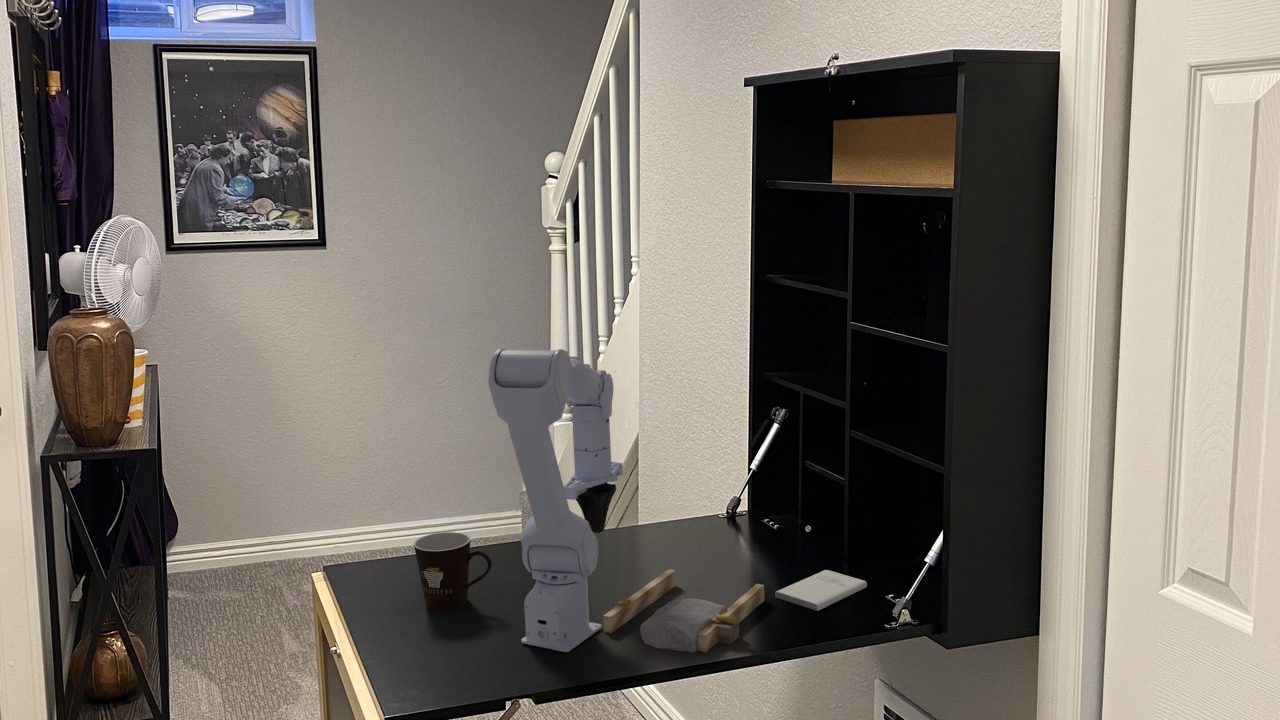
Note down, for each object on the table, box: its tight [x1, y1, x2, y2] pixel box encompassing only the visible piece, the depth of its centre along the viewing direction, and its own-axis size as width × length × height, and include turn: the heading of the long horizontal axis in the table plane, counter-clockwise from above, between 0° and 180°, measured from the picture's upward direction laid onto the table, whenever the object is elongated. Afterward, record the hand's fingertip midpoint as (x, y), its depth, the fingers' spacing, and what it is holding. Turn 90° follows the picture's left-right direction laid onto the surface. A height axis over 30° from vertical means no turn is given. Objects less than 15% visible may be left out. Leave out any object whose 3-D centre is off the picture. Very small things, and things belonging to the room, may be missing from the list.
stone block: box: [639, 597, 728, 654], centre depth 167 cm, size 12×5×10 cm
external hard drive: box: [774, 569, 868, 612], centre depth 180 cm, size 2×8×12 cm
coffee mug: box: [413, 531, 493, 612], centre depth 180 cm, size 12×9×10 cm
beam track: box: [603, 569, 765, 653], centre depth 172 cm, size 20×19×4 cm
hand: (596, 531), depth 182 cm, fingers closed
